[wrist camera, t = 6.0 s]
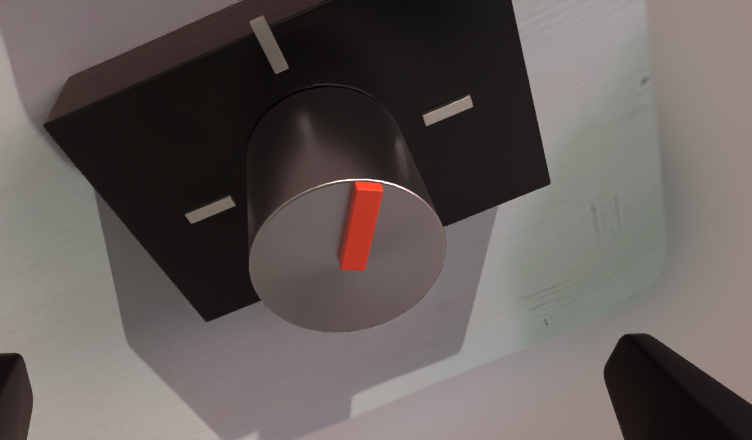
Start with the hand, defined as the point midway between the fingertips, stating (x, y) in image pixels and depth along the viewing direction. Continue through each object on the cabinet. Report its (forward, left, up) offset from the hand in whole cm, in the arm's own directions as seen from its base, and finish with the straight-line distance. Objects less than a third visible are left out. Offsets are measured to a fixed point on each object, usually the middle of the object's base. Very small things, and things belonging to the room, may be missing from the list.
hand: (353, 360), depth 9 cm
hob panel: (0, +2, -12) cm, 12 cm away
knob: (0, +2, -9) cm, 9 cm away
